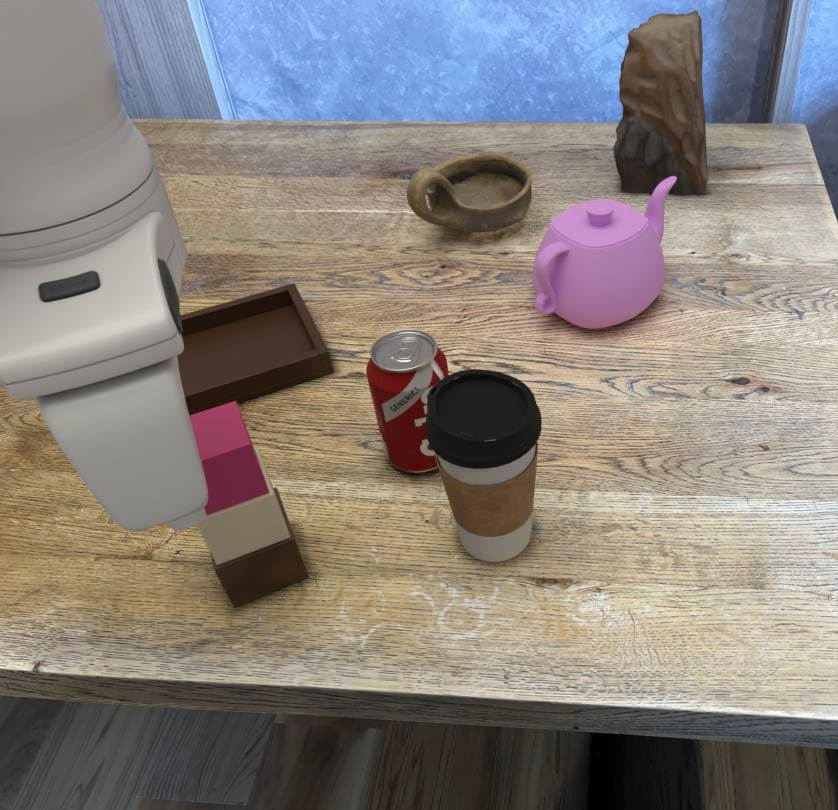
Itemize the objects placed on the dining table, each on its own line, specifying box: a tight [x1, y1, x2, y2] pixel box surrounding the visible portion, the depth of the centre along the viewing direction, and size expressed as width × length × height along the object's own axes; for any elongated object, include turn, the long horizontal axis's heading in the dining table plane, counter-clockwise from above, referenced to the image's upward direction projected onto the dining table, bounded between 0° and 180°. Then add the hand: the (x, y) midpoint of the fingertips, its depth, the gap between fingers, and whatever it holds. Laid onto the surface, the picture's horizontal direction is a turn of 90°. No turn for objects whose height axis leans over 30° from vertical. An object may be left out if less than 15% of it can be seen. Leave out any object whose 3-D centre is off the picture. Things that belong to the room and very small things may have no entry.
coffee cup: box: [425, 368, 543, 563], centre depth 63 cm, size 8×8×15 cm
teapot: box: [531, 176, 677, 330], centre depth 88 cm, size 20×13×12 cm, turn 130°
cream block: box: [196, 446, 290, 565], centre depth 61 cm, size 6×6×5 cm
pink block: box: [190, 401, 269, 515], centre depth 58 cm, size 5×5×5 cm
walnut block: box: [209, 486, 310, 609], centre depth 64 cm, size 6×6×5 cm
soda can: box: [365, 328, 450, 474], centre depth 71 cm, size 7×7×12 cm
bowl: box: [406, 152, 533, 234], centre depth 101 cm, size 14×18×10 cm
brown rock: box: [612, 9, 709, 196], centre depth 107 cm, size 13×13×20 cm
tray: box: [177, 282, 335, 416], centre depth 85 cm, size 20×14×3 cm
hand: (176, 459), depth 45 cm, fingers open, 8 cm apart
